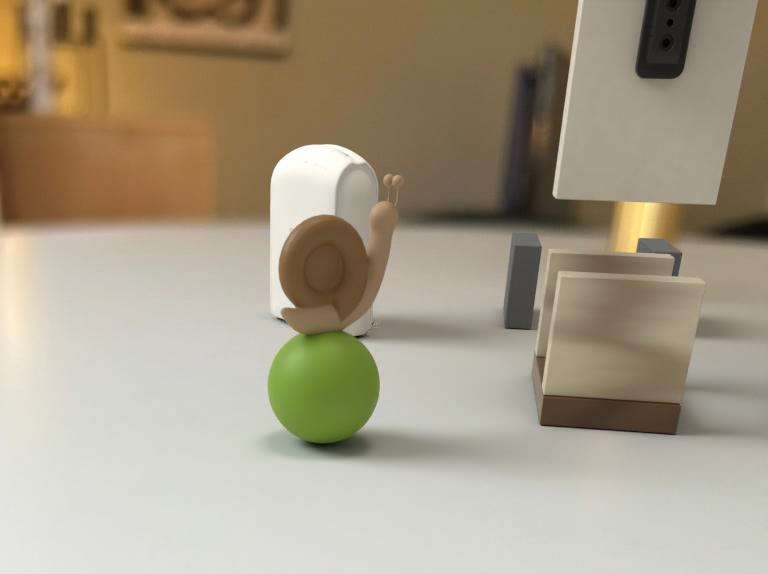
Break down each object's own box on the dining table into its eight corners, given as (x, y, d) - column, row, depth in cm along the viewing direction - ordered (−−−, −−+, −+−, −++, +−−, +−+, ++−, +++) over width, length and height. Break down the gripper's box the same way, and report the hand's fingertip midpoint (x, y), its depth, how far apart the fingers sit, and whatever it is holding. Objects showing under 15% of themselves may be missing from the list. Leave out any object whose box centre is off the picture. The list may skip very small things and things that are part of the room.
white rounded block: (261, 316, 79) (263, 141, 73) (308, 312, 80) (313, 141, 75) (329, 341, 71) (337, 147, 65) (379, 336, 73) (391, 147, 67)
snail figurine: (414, 445, 49) (436, 178, 44) (305, 464, 46) (314, 179, 40) (350, 418, 53) (364, 170, 48) (246, 434, 50) (247, 171, 44)
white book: (552, 195, 54) (581, -24, 50) (704, 200, 53) (749, -23, 49) (555, 199, 52) (586, -32, 47) (715, 205, 51) (764, -31, 46)
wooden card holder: (645, 380, 62) (669, 253, 59) (676, 434, 52) (708, 283, 48) (531, 373, 63) (548, 248, 60) (539, 424, 53) (560, 276, 49)
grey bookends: (649, 316, 83) (664, 238, 80) (666, 337, 75) (683, 252, 72) (503, 308, 84) (512, 232, 82) (504, 327, 77) (514, 244, 74)
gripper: (885, -483, 35) (764, 77, 43) (783, -330, 47) (703, 85, 56) (665, -471, 36) (587, 73, 44) (621, -324, 49) (566, 82, 57)
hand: (652, 77), depth 50 cm, fingers closed on white book, 3 cm apart
